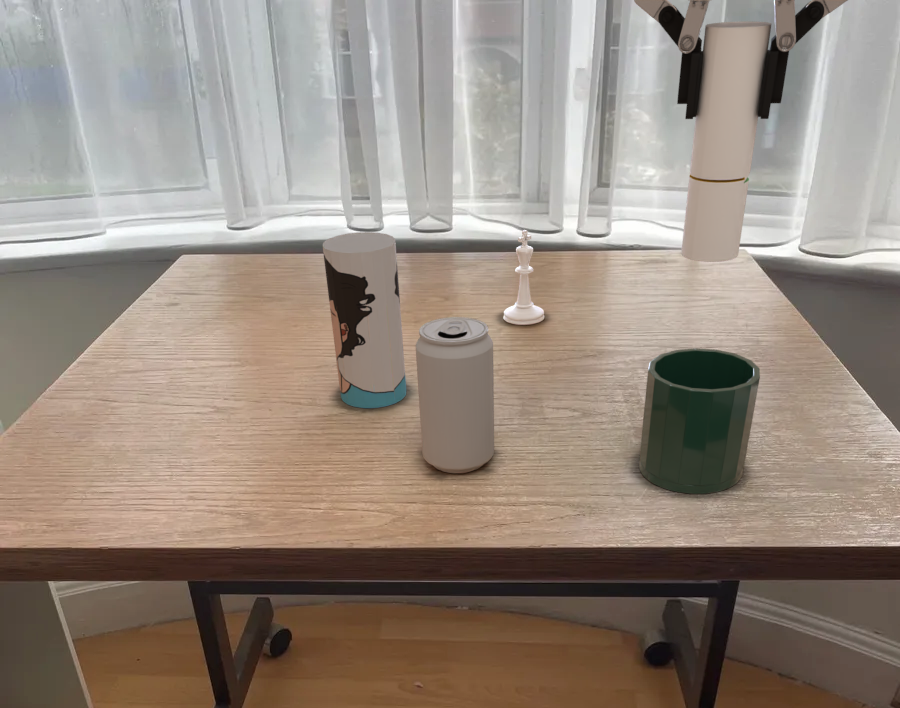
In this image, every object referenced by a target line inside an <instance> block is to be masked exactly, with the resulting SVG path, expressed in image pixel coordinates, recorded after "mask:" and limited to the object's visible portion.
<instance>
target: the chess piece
mask: <svg viewBox="0 0 900 708" xmlns="http://www.w3.org/2000/svg"><path fill="white" fill-rule="evenodd" d="M528 231H529V230H526V229H523V230H522V231H521V236H519V237H517V242H518V243H521V245H519V246H517V247H516V248H515V253H516V256H517V258H518V259H517V261H518V262H519V266H517V267H516V268H515V270H514V272H515V273H516V274H519V283H518V290H517V291H518V292H517V299H516V301H515V303H514V305H511V306H509V307H507V308H505V310H504V311H503V317H502V319H503V320H504V321H505V322H507V323H508V324H512V325H517V326H518V325H519V326H526V325H527V326H528V325H535V324H538V323H540V322H542V321H543V320H544V319H545V315H544V314H545V311H544V309H543V308H542V307H540V306H537V305H534V304H535V303H534V302H533V301H532V298H531V287H530V277H529V276H530V275H529V274H531V273H534V271H535V270H534V267H533V266H530V265H529V264H530V263H531V258H532V256H533V253H534V248H533V246H530V245H528V241H530V240H532V235H531V234H529V233H528Z"/></svg>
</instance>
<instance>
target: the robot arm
mask: <svg viewBox="0 0 900 708" xmlns="http://www.w3.org/2000/svg"><path fill="white" fill-rule="evenodd" d="M633 1H634V3H635V4H636V5H637V6H638V7H639V8H640V9H642V10H643V11H644V12H645V13H646V14H648V16H649V17H651V18H652V19H653V20H655V21H656V22H658V23H659V25H660V26H661V28H662V29H663V30H664V32H665V33H666V34H667V35H668V36H669V38H670V39H671V40H672V41H673V42H674V44H675V45H676V46H677V48H678V50H679V51H680V53H681V59H680V61H681V62H680V70H679V80H678V90H677V101H676V103H677V105H686V108H685V120H693V119H694V118H696V114H697V105H698V96H699V87H700V77H701V68H702V59H703V47H702V45H703V39H702V38H701V37H700V35H701V32H702V28H703V24H704V21H705V17H706V15H707V11H708V8H709V4H710V1H711V0H689V3H688V6H687V10H686V14H685V17H684V16H683V14H682V13H681V12H680V10H679V8H677V6H676V5H674V4H673V3H671V1H669V0H633ZM795 2H796V1H795V0H773V7H774V8H773V9H774V10H773V11H774V28H775V30H774V31H775V35H774V36H773V37H772V38H771V39H770V47H769V49H768V52H767V55H766V62H765V69H764V76H763V83H762V90H761V97H760V104H759V111H758V118H760V120H769V117H770V111H771V105H772V104H781V103H782V98H783V92H784V86H785V79H786V74H787V67H788V61H789V55H790V51H791V50H792V49H793V48H794V47H795V45H796V44H797V43H798V42H799V41H801V39H803V37H804V36H806V34H808V33H809V32H810V31H811V30H812V29H813V28H814V27H815V26H816V25H817V24H818V23H819V22H820V21H821V20H822V19H823V18H825V17H826V16H827V15H829V14H831V13H832V12H833V11H835V10H837V9H838V8H839V7H840V6H842V5H844V4H845V3H846V2H848V0H810V1H808V2H807V3H806V4H805V5H804V6H803V7H802V8H801V9H800V10H798V12H797V13H796V7H795V6H796V4H795Z"/></svg>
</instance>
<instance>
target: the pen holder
mask: <svg viewBox="0 0 900 708" xmlns="http://www.w3.org/2000/svg"><path fill="white" fill-rule="evenodd" d="M647 368H648V369H647V378H646V388H645V398H644V409H643V419H642V429H641V437H640V438H641V439H640V449H639V458H638V459H639V461H638V462H639V464H638V467H639V472H640V474H641V475H642V476H643V477H644V478H645V479H646V480H647V481H648V482H650V483H652V484H653V485H655V486H657V487H659V488H661V489H664V490H667V491H671V492H677V493H682V494H693V495H704V494H714V493H717V492H721V491H725V490H727V489H730V488H732V487H733V486H735V485H736V484H737V483H739V481H740V480H741V478H742V476H743V471H744V469H745V464H746V457H747V454H748V453H747V452H748V446H749V441H750V435H751V429H752V424H753V419H754V413H755V407H756V401H757V395H758V391H759V384H760V380H761V379H760V378H761V370H760V367H759V366H758V365H757V364H756V363H754V361H752V360H751V359H750V358H747V357H744V356H742V355H740V354H737V353H734V352H731V351H726V350H720V349H716V348H715V349H713V348H695V347H694V348H685V349H684V348H683V349H676V350H671V351H668V352H664V353H661V354H658V355H657V356H656V357H654V358H653V359H651V360H650V361H649V364H648V367H647Z"/></svg>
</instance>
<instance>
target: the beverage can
mask: <svg viewBox="0 0 900 708" xmlns="http://www.w3.org/2000/svg"><path fill="white" fill-rule="evenodd" d="M418 333H419V337H418V339H417V341H416V343H415V358H416V359H415V360H416V372H417V373H416V375H417V377H416V378H417V391H418V406H419V421H420V435H421V436H420V438H421V453H422V457H423V459H424V460H425V461H426V463H428V464H429V465H431V466H433V467H434V468H435V469H436V470H439V471H442V472H444V473H447V474H448V473H449V474H464V473H465V474H466V473H470V472H473V471H476V470H478V469H481V467H483V466H484V465H485V464H486V463H488V462H489V461H490V460H491V459H492V458H493V456H494V454H495V398H494V397H495V393H494V391H495V388H494V387H495V385H494V341H493V339H492V337H491V335H490V334H489V326H488V324H487V323H486V322H484V321H482V320H480V319H478V318H472V317H466V316H449V317H441V318H436V319H433V320H430V321H427V322H426V323H424V324H422V325H421V326H420V327H419V329H418Z"/></svg>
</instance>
